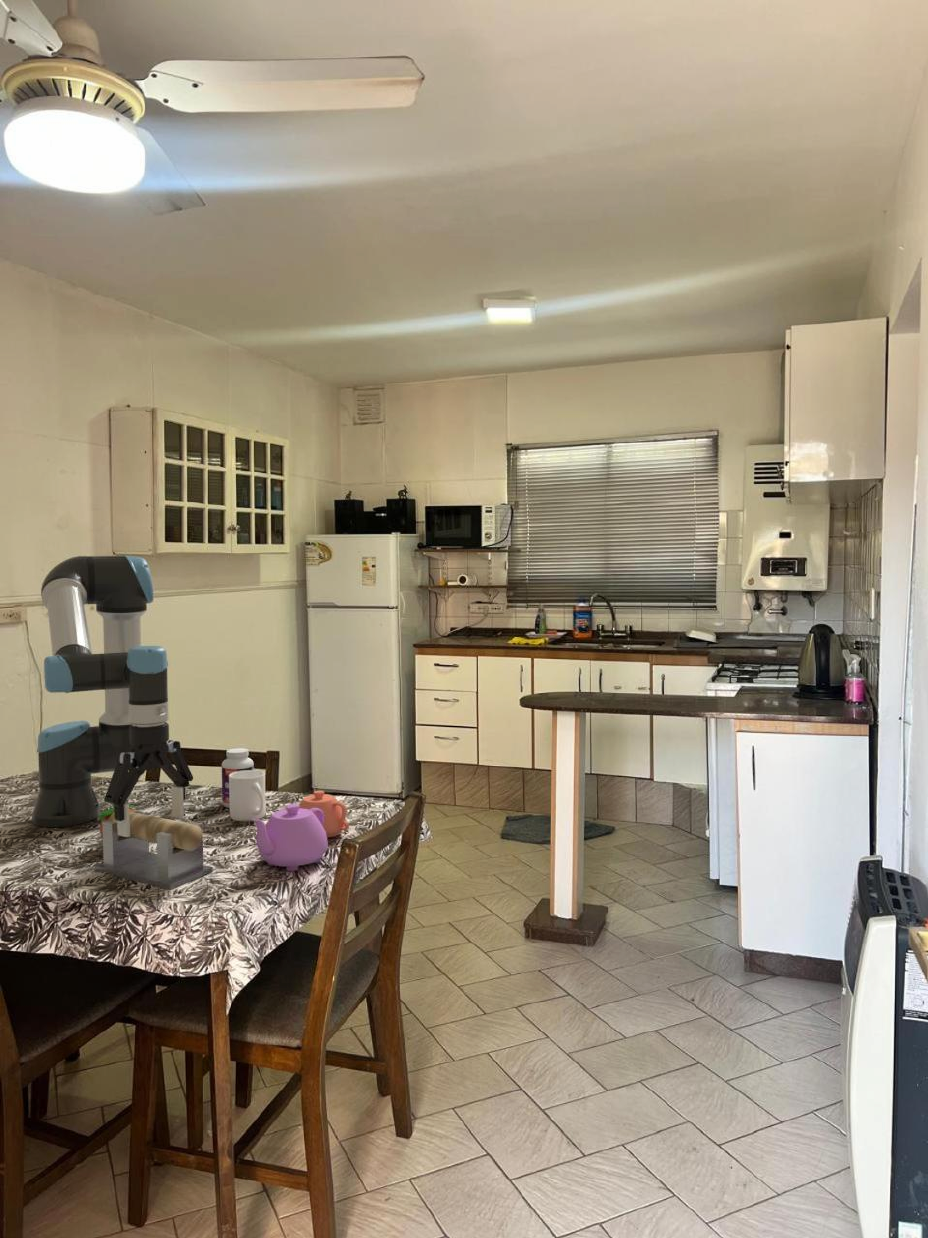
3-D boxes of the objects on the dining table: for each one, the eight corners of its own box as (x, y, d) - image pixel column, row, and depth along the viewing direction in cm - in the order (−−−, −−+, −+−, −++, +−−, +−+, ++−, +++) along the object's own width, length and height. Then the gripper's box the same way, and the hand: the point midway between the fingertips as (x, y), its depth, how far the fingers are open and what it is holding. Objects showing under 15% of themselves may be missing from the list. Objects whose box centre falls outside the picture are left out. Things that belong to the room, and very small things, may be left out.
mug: (245, 827, 206) (244, 783, 205) (223, 816, 215) (222, 773, 214) (278, 820, 211) (277, 777, 210) (255, 810, 220) (254, 768, 220)
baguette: (105, 832, 179) (111, 808, 180) (124, 835, 183) (130, 811, 184) (180, 849, 168) (186, 823, 169) (198, 852, 172) (205, 826, 174)
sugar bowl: (313, 824, 208) (312, 782, 207) (363, 832, 202) (362, 789, 201) (281, 839, 197) (280, 795, 196) (332, 847, 191) (331, 802, 190)
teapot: (276, 885, 168) (275, 824, 168) (229, 870, 177) (228, 811, 176) (348, 857, 184) (347, 801, 184) (302, 844, 193) (301, 790, 192)
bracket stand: (94, 870, 177) (93, 822, 177) (138, 854, 187) (137, 808, 186) (169, 889, 166) (168, 838, 166) (212, 872, 176) (211, 823, 175)
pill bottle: (221, 810, 220) (220, 754, 219) (222, 802, 227) (221, 748, 226) (254, 808, 221) (253, 752, 221) (254, 800, 229) (253, 746, 228)
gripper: (108, 736, 162) (112, 847, 164) (208, 714, 184) (211, 812, 185) (82, 732, 166) (86, 840, 167) (183, 711, 187) (186, 807, 189)
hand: (151, 826), depth 176 cm, fingers open, 13 cm apart
